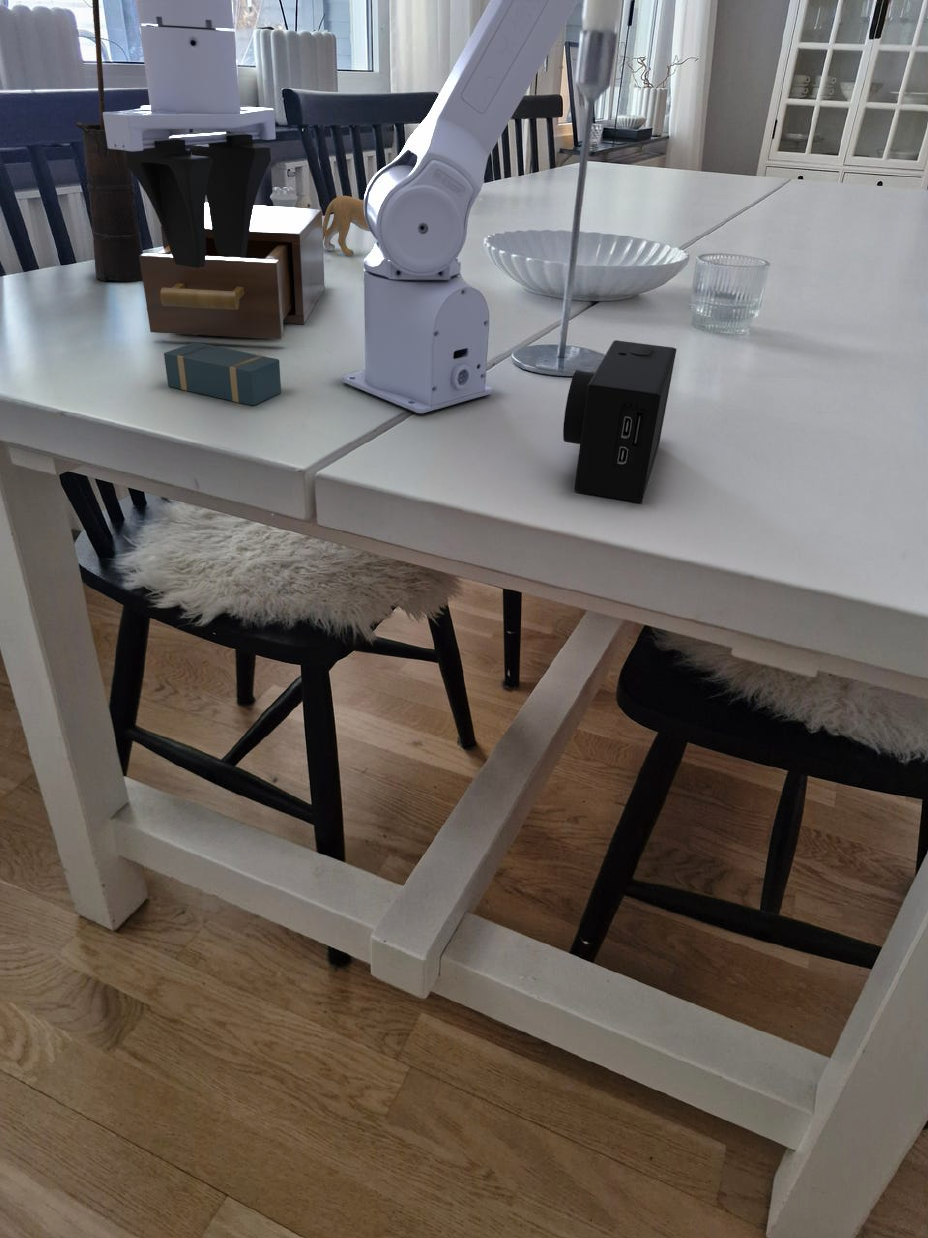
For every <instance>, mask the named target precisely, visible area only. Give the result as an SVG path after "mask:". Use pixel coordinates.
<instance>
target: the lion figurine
mask: <svg viewBox="0 0 928 1238" xmlns="http://www.w3.org/2000/svg"><path fill="white" fill-rule="evenodd" d="M332 214H333V217H332V221H331V223H330V225H329V222H330V218H331V215H332ZM351 223H352V224H353V225H355V226H356V227H358V228H359V229H360V230H363V231H365V232H370V233H371V231H370V230H369V228H368V225H367V223H366V220H365V216H364V199H360V198H357V197H353V196H349V195H339V196H337V197H335V198H334V199H332V200H331V202H330V203H329V204H328V206H327V207H326V211H325V213H324V218H323V220H322V230H323V247H324V248H325V250H329V251H334V250H335V249H336V246H335V244H333V243H331V240H332V239H333V237H334V236H336V235H337V234H338V238H337V243H338V245H339V248H340V249H341V251H342V253H343V255H345V256H354V254H355V253H354V250H353V249H350V248H348V246H347V237H348V235H349V234H348V233H349V230H350V227H351ZM328 225H329V227H328Z"/></svg>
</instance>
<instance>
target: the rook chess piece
mask: <svg viewBox="0 0 928 1238" xmlns="http://www.w3.org/2000/svg"><path fill="white" fill-rule="evenodd" d="M269 198H270V200H271V202H272V203H273V205H274V206H273V207H287V208H295V204H296V202H297V200H298V196H297V195H296V194H295V188H293V187H289V188H288V187H287V186H286V187H285V186H283V187H282V189H281V187H279V186H276V187H272V193H271V194H270V196H269Z"/></svg>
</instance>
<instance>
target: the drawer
mask: <svg viewBox="0 0 928 1238" xmlns="http://www.w3.org/2000/svg"><path fill="white" fill-rule="evenodd" d="M139 257H140V264H141V271H142V278H143V280H142V284H143V291H144V299H145V304H146V311H147V312H146V313H147V318H148V325H149V332H150V333H156V334H175V335H194V336H215V337H235V338H236V337H237V338H254V339H271V340H272V339H273V340H282V339H283V338H284V335H285V333H284V332H285V331H284V323H283V320H284V319H285V317H286V316H287V314H288V313H289V311H290V310H291V308H292V307H293V305H294V304H295V295H294V277H293V259H292V242H273V241H255V240H248V245H247V251H246V256H244V257H236V256H229V255H223V254H218V252H217V249H216V246H215V242H214V238H206V259H205V266H204V267H200V268H195V267H189V266H183V265H177V264H176V263H175V261H174V258H173V255H172V253H171V250H170V247H169V246H167V247H166V248H164V249H163V248H162V249H161V250H159V251H158V252H157V253H153V252H152V253H151V252H149V253H148V252H143V254H141V255H140V256H139Z"/></svg>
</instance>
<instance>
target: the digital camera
mask: <svg viewBox="0 0 928 1238" xmlns="http://www.w3.org/2000/svg"><path fill="white" fill-rule="evenodd" d="M676 355H677V348H675V347H672V346H665V345H664V346H663V345H658V344H657V345H656V344H648V343H640V342H632V341H626V340H625V341H624V340H618V339H615V340H613V341H612V343H611V344H610V346H609V348H608V350H607V351H606V353H605V354H604V356H603V358H602V359H601V361H600V363H599V365H598V366H597V369H596V370H595V372H593V371H587V370H586V371H585V370H580V369H576V370H575V371H574V373H573V375H572V378H571V381H570V384H569V388H568V393H567V396H566V402H565V403H566V404H565V410H564V416H563V425H562V426H563V427H562V431H563V432H562V436H563V437H562V438H563V442H565V443H569V444H570V443H571V444H577V445H579V450H578V456H577V457H578V458H577V466H576V473H575V481H574V491H575V492H576V493H581V494H587V495H593V496H598V497H604V498H611V499H617V500H621V501H623V500H624V501H628V502H635V503H637V504H638V503H639V504H643V501H644V497H645V494H646V490H647V487H648V483H649V480H650V478H651V473H652V470H653V467H654V463H655V461H656V456H657V453H658V450H659V447H660V443H661V436H662V432H663V425H664V420H665V415H666V410H667V403H668V399H669V393H670V389H671V382H672V378H673V377H672V376H673V371H674V367H675V366H674V365H675V361H676V360H675V359H676Z"/></svg>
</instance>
